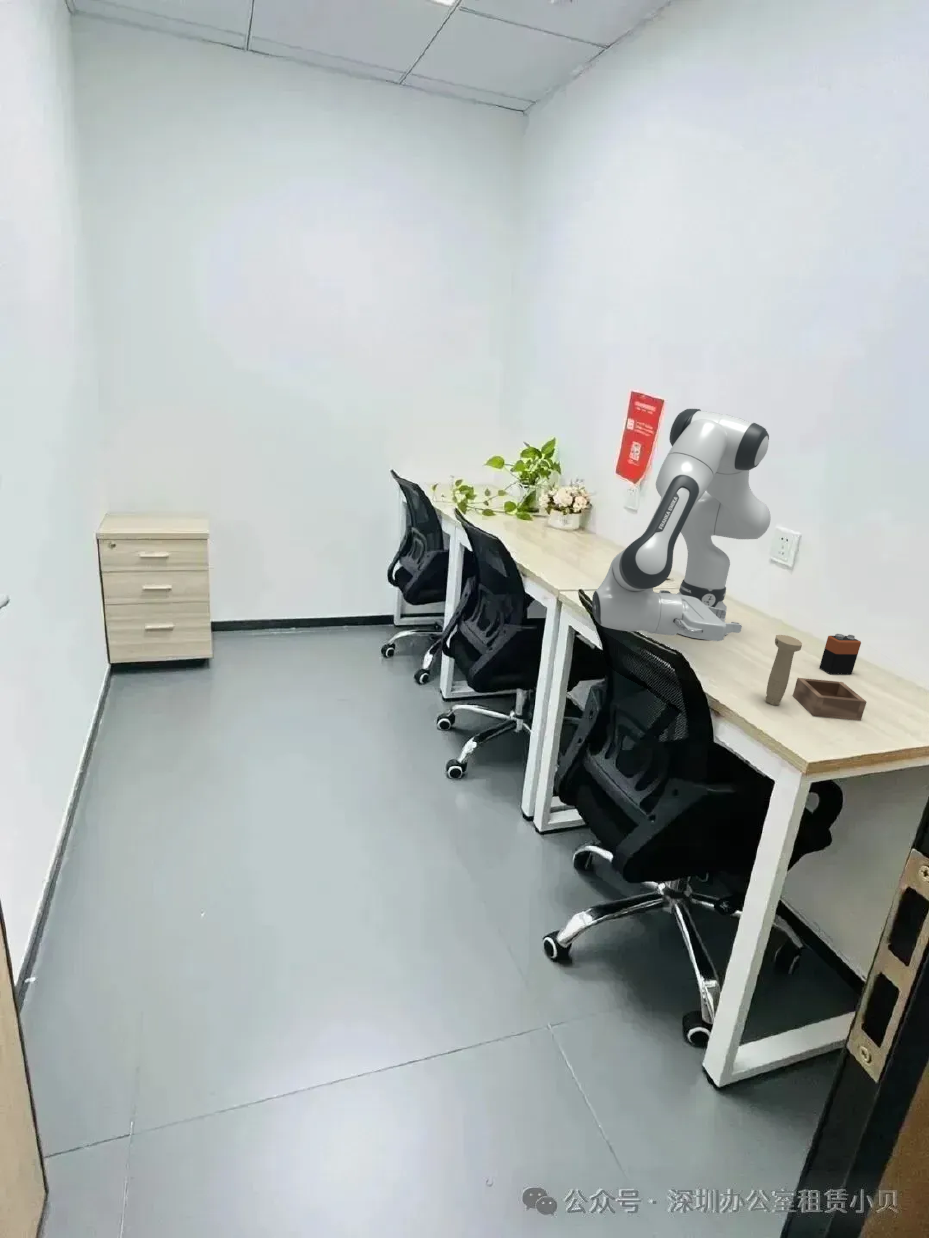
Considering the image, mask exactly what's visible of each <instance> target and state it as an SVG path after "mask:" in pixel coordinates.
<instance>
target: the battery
mask: <svg viewBox="0 0 929 1238" xmlns="http://www.w3.org/2000/svg"><path fill="white" fill-rule="evenodd" d="M861 644H862V642H861V640H860V639H857V638H856V636H855V635H853V634H847V635H844V634H842V633H836V634H834V635H828V636H827V639H826V643H825V647H824V649H823V653H822V657H821V661H820V665H819V668H820V669H821V670H822V671H824V672H826V673H827V674H828V675H852V674H853V671H854V667H855V664H856V661H857V658H858V655H859V651H860V647H861Z"/></svg>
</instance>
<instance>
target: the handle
mask: <svg viewBox="0 0 929 1238" xmlns="http://www.w3.org/2000/svg"><path fill="white" fill-rule="evenodd" d="M774 645H775V646H776V647H777V651H776V655H775V658H774V661H773V664H772V667H771V670H770V673H769V678H768V681H767V686H766V696H765V703H767V704H770V705H771V706H774V705H775V706H779V705H780V703H781V702H782V699H783V697H784V695H785V693H786V689H787V687H788V684H789V680H790V674H791V670H792V669H791V668H792V663H793V659H794V655H795V652H800V651H801V649H802V645H803V642H801V641H800V640H799V639H798V638H795V637H793V636H790V635H785V634H776V635H775V638H774Z"/></svg>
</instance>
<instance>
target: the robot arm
mask: <svg viewBox="0 0 929 1238" xmlns="http://www.w3.org/2000/svg"><path fill="white" fill-rule="evenodd" d="M669 432H670V433H669V443H670V446H671V448H670V450H669V451H668V453H667V455H666V457H665V458H664V460H663V462H662V464H661V466H660V469H659V470H658V475H657V477H656V481H655V489H656V491H657V493H658V495H659V496H660V501H659V503H658V506H657V508H656V510H655V511H654V513H653V516H652V518H651V519H650V522H649V523H648V525H647V527H646V529H645V531H644V532H643V533H642V535H640V536H639V537H638V538H636V539H635V540H634V541H633V542H631V543H630V544H629V545H628V546H627V547H625V548H624V549H623V550H622V551H620V552H618V554H617V555H615V557H614V558H613V559H612V561H611V563H610V566H609V568H608V571H607V573H606V575H605V577H604V579H603V581H602V582H601V584H600V585H599V586H598V587H597V588H596V590H595V591H594V592H593V595H592V600H591V608H592V609H591V610H592V614H593V617H594V619H595V621H596V623H597V624H598V625H600V626H602V627H603V628H608V629H613V630H616V631H626V632H638V631H640V632H641V631H642V632H647V633H649V634H654V635H665V636H674V637H675V636H676V635H677V634H679V635H682V636H684V637H688V638H693V639H699V640H705V641H713V642H721V641H723V640H725V636H727V635H728V634H732V633H735V634H738V633H740V632H741V631H742V627H743V626H742V624H741V623H739V622H736V621H731V622H726V617H727V611H728V610H727V608H728V607H727V605H726V604H725V603H724V600H725V598H726V593H727V587H726V584H727V581H728V576H729V572H730V571H729V570H730V565H731V561H730V557H729V556H728V554H727V553H725V551H723V550H722V549H721V548H719V547H718V546H716V544H714V542H713V541H712V537H713V536H717V537H723V538H727V539H728V538H729V539H733V540H734V539H736V540H758V539H760V538H761V537H762V536H763V535H765V533H766V532H767V531H768V529H769V527H770V524H771V512H770V510H769V507H768V506H767V504H766V503H765V502H762V500H760V499H759V498H758V497H757V496H756V495H755V494H754V493H753V491H752V489H751V487H750V484H749V479H750V471H751V470H753V469H754V468H755V469H756V468H757V467H758V466H759V465H760V463H761V462H762V461H763V459H764V458H765V456H766V454H767V452H768V449H769V443H770V441H769V440H770V434H769V433H768V431H767V428H766V427H764V426H762V425H760V424H758V423H757V422H753V423H751V422H749V421H747V420H745V419H742V418H740V417H736V416H733V415H730V414H722V413H717V412H712V411H705V410H701V409H700V408H686V409H684V410H682V411H681V412H679V413H678V415H677V416H676V417H675V419H674V421H673V422H672V425H671V427H670V431H669ZM680 534H681V536H682V537H683V539H684V541H685V544H686V549H687V559H686V567H685V575H684V579H682V581H681V583H680V585H679V589H678V591H679V592H677V593H672V592H671V591H669V590H665V589H660V590H659V592H655V591H654V590H653V589H654V588H656V587H658V586H660V585H662V584H663V583H665V582H666V580H668V578H669V576H670V574H671V572H672V568H673V561H674V549H675V546H676V542H677V540H678V537H679V535H680Z"/></svg>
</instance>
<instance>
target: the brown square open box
mask: <svg viewBox="0 0 929 1238" xmlns="http://www.w3.org/2000/svg"><path fill="white" fill-rule="evenodd" d="M792 696H793V698H794V699H795V700H796V701H798V703H799V704H800V705H802V706H803V707H804V708H805V709H806V710H807V711H808V712H809V713H810V714H811V715H812V717H819V718H829V719H830V718H831V719H842V720H851V721H852V720H853V721H862V718H863V714H864V712H865V708H866V705H867V701H866V700H865V699H864V698H863V697H862V696H860V695H859V694H858V693H856V691H854V690H853V689H852V688H850V687H849V686H848V685H847V684H846V683H844V682H843V681H834V680H825V679H824V680H823V679H814V678H803V677H797V678H796V682H795V686H794V689H793V693H792Z"/></svg>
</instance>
